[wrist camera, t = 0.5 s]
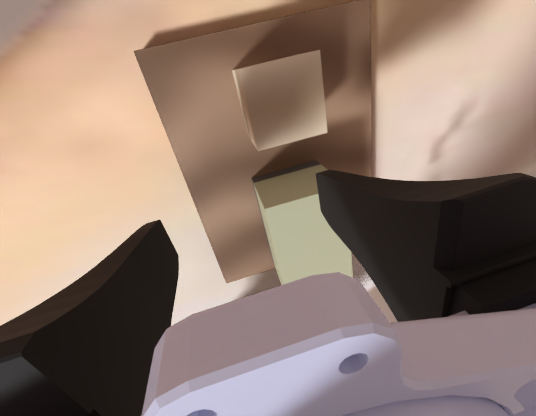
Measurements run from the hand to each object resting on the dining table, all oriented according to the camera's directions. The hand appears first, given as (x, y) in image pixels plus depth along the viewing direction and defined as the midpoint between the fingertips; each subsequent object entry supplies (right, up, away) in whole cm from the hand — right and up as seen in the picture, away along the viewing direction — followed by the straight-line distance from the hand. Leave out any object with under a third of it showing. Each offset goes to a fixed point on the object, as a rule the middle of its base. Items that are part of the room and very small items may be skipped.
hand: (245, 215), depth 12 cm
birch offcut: (+1, +7, +5) cm, 9 cm away
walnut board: (+2, +4, +9) cm, 10 cm away
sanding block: (+3, 0, +9) cm, 10 cm away
